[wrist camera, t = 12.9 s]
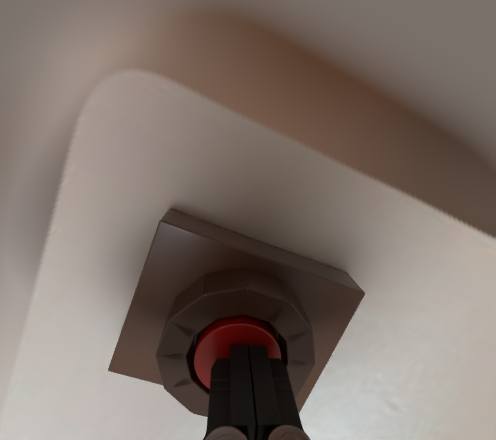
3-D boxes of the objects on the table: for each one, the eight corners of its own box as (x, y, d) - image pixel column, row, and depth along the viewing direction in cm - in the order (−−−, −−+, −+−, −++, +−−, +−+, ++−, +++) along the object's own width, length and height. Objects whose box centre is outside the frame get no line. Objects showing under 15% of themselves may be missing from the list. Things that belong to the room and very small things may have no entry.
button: (186, 355, 14) (181, 384, 12) (213, 290, 13) (212, 312, 12) (256, 374, 15) (261, 405, 13) (286, 314, 14) (295, 338, 12)
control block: (122, 340, 16) (90, 404, 12) (169, 207, 14) (149, 233, 11) (287, 386, 18) (304, 455, 14) (347, 272, 16) (386, 315, 12)
